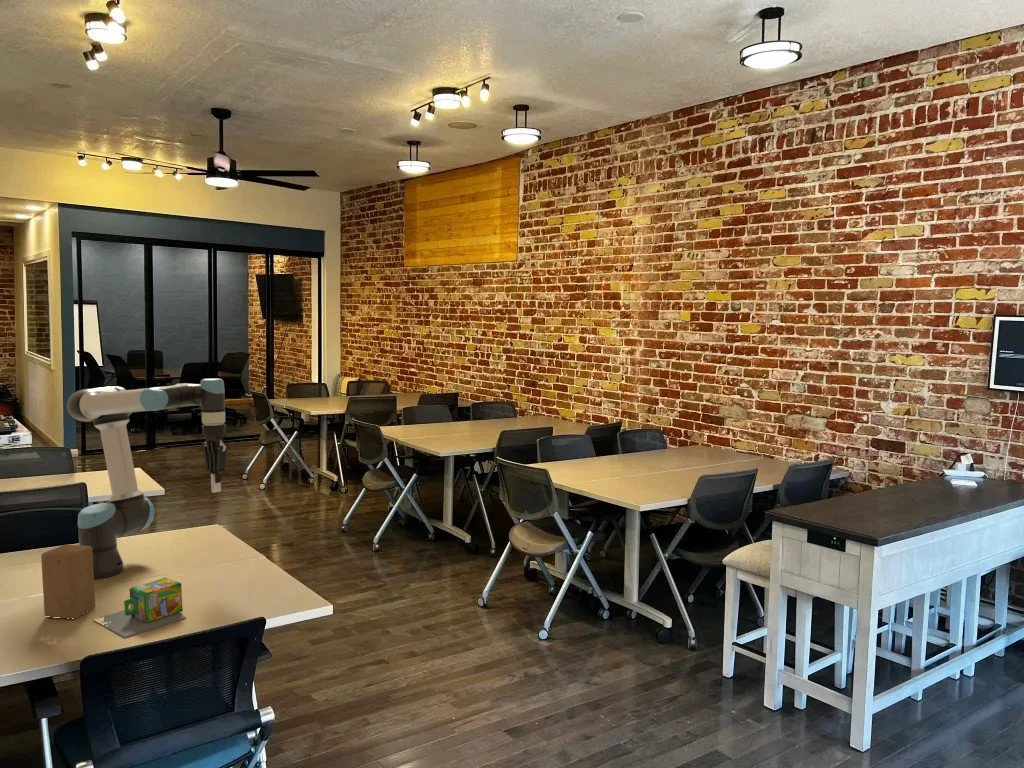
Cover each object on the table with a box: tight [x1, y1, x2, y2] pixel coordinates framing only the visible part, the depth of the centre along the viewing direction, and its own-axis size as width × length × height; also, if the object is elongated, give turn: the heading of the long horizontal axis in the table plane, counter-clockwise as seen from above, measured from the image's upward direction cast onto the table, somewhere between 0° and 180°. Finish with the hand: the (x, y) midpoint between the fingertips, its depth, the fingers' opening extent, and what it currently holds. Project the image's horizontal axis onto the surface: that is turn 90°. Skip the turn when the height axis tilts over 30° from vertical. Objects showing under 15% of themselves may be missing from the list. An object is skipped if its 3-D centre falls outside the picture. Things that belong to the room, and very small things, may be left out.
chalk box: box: [123, 577, 184, 623], centre depth 229 cm, size 9×9×15 cm
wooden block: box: [40, 543, 96, 619], centre depth 231 cm, size 10×10×20 cm
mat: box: [100, 608, 187, 639], centre depth 227 cm, size 20×18×1 cm
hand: (216, 491), depth 264 cm, fingers closed
